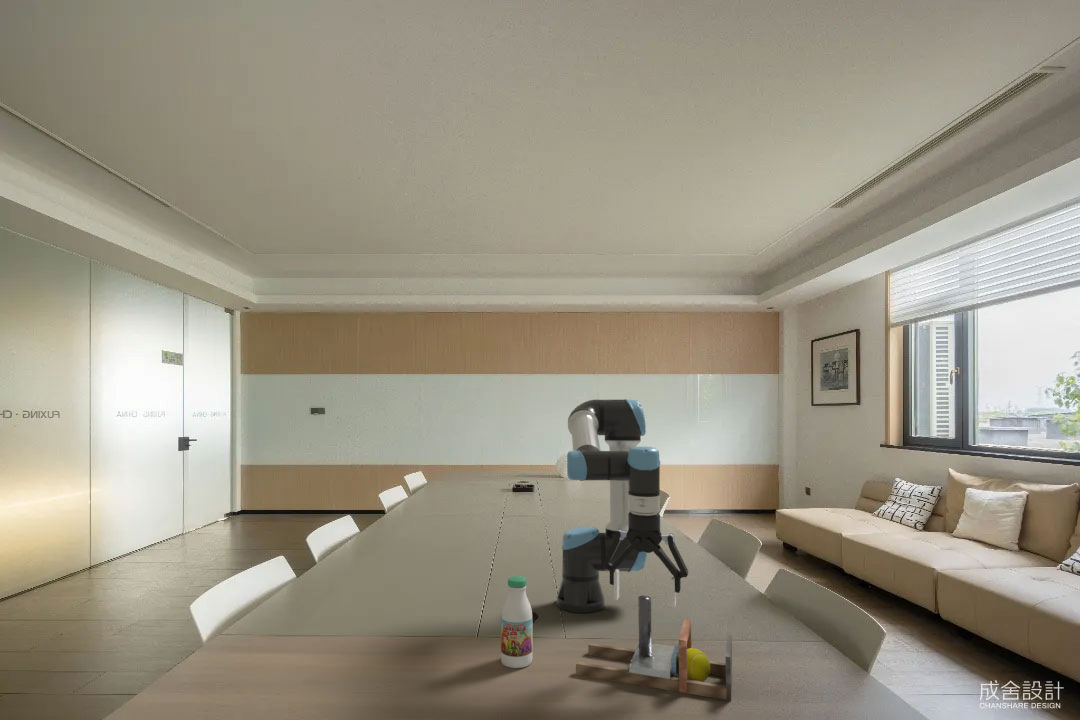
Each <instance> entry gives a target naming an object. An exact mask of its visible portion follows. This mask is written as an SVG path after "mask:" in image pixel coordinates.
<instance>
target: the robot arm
mask: <svg viewBox="0 0 1080 720" xmlns="http://www.w3.org/2000/svg"><path fill="white" fill-rule="evenodd" d="M646 425H647V424H646V418H645V413H644V409H643V406H642V404H641V402H640V401H638V400H635V399H626V398H625V399H591V400H587V401H584V402H583V403H580V404H579V405H577V406H576V407H575V408H573V410H572V411H571V412H570V414H569V416H568V419H567V429H568V431H569V433H570V435H571V440H572V442H571V443H572V450H571V451H568V452H567V453H566V457H567V458H566V464H567V465H566V473H567V475H566V476H567V478H568V479H569V480H571V481H580V482H583V481H609V519H610V520H609V522H608V524H606V526H605V532H600V530H599V528H598V527H595V526H581V527H575V528H572V529H569V530H567V531H566V532H564V533H563V536H562V545H561V550H562V568H561V569H562V571H561V572H562V573H561V575H562V577H561V581H560V585H559V588H558V592H557V595H556V606H557V607H558V608H560V609H561V610H564V611H566V612H569V613H570V612H572V613H577V614H580V613H581V614H582V613H583V614H586V613H594V612H598V611H601V610H603V609H604V607H606V599H605V598H606V597H605V595H604V591H603V588H602V585H601V582H600V572H609V584H610V586H611V585H612V586H613V601H618V599H619V598H620V572H626V573H631V572H640V571H642V570H643V569H644V568H645V565H646V563H647V559H648V558H647V557H648V554H651V553H653V554H655V555H656V556H657V557H658V559H660V561H661V562H662V564H663V565H664V566H665V568H666V569H667V570H668V571H669V573H670V574H671V579H670V585H671V586H670V588H671V589H670V590H671V593H670V594H671V601H670V602H671V603H670V604H671V609H672V608H673V609H676V606H677V605H676V604H677V594H678V593H679V594H680V591H681V587H682V586H681V584H682V583H681V582H682V581H681V579H682V578H687V577H688V575H689V570H688V567H687V565H686V564H685V561H684V559H683V557H682V555H681V553H680V551H679V548H678V547H677V546H676V545H677V544H676V542H675V535H674V533H669V534H662V533H661V515H660V513H659V512H660V511H661V494H660V492H661V491H660V490H661V489H660V488H661V487H660V484H661V483H660V480H661V478H660V473H661V472H660V471H661V469H660V468H661V467H660V466H661V460H660V451H659V449H657V448H656V447H652V446H639V444H640V443H641V441H642V438H641V437H643V436H645V435H646V433H647V432H646V431H647V430H646V429H647V427H646ZM599 436H604V442H605V443H606V444H607V445H608V447H609V448H608V449H609V450H602V449H601V446H600V441H599ZM662 541H663V542H664V543H665V545H668V548H669V550H670V553H671V555H672V557H673V558H674V561H675V564H676V565H677V566H676V565H675V564H674V563H673V561H672V559H670V557H669V556H668V555H667V554H666V552H665V551H664V550H663V547H662V546H661V545H660V544H661V542H662ZM677 567H678V568H677Z"/></svg>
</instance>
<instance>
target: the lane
mask: <svg viewBox="0 0 1080 720" xmlns="http://www.w3.org/2000/svg"><path fill="white" fill-rule="evenodd" d="M725 643H726V645H725V655H724V656H725V657H724V658H725V659H724V660H725V662H719V661H712V660H709V663H710V673H709V675H710V674H711V675H717V676H721V677H722V676H724V677H725V684H718V683H712V682H705V681H703V682H700V681H694V680H688V679H687V649H689V648H693V646H692V644H693V642H692V620H691V619H683V622H682V627H681V630H680V634H679V637H678V644H679V675H678V678H676V677H670V679H667V678H661V677H655V676H649V675H642V674H636V673H630V672H629V669H625V668H619V667H612V666H608V665H607V666H605V665H600V664H594V663H588V662H582V661H577V662H576V663H575V674H576V676H577V675H578V676H584V677H590V678H594V679H600V680H607V681H613V682H618V683H625V684H630V685H635V686H636V685H637V686H643V687H647V688H655V689H661V690H667V691H672V692H678V693H682V694H686V695H687V694H691V695H696V696H702V697H708V698H712V699H719V700H723V701H724V700H725V701H732V691H733V689H732V687H733V652H732V651H733V648H732V647H733V646H732V645H733V644H732V634H726V642H725ZM587 647H588V650H587V651H588V653H587V654H588V655H589V656H594V657H601V658H607V659H614V660H618V661H627V662H631V660H632V658H633V656H634V654H635V651H636V649H634V648H625V647H619V646H613V645H606V644H599V643H593V642H589V643H588V646H587Z"/></svg>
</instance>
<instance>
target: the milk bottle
mask: <svg viewBox="0 0 1080 720" xmlns="http://www.w3.org/2000/svg"><path fill="white" fill-rule="evenodd" d="M507 588H508V592H507V593H508V594H507V596H506V599H505V602H504V604H503V607H502V610H501V621H500V623H501V625H500V626H501V628H500V629H501V630H500V633H501V634H500V661H501V664H502V665H503V666H504V667H506V668H510V669H521V668H525V667H528V666H530V665H531V664H532V661H533V611H532V610H533V609H532V607H531V606H532V605H531V603H530V600H529V598H528V596H527V592H526V589H527V578H526V577H525V576H520V575H519V576H518V575H516V576H515V575H514V576H510V577H509V578H508V579H507Z"/></svg>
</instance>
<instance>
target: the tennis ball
mask: <svg viewBox="0 0 1080 720" xmlns="http://www.w3.org/2000/svg"><path fill="white" fill-rule="evenodd" d="M709 661H710V660H709V658H708V656H707V655H706V654H705V653H704V652H703V651H701V650H700V649H698V648H693V647H692V648H689V649H687V679H688V680H694V681H700V682H705V681H706V680H707V679H708V677H709V675H710V674H709V673H710V663H709ZM678 668H679V659H678Z"/></svg>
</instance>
